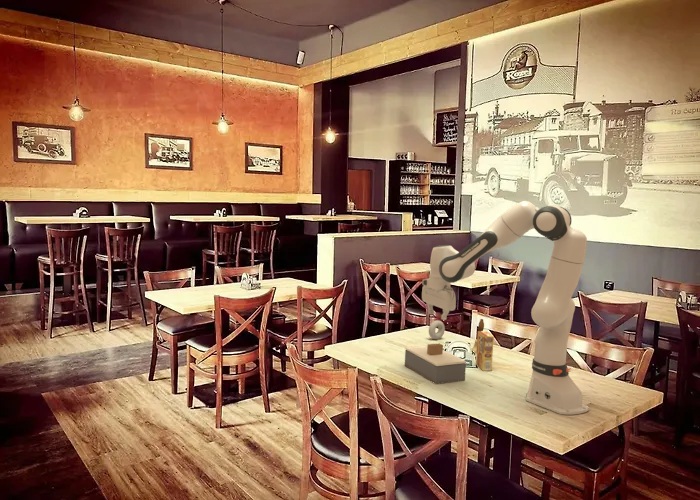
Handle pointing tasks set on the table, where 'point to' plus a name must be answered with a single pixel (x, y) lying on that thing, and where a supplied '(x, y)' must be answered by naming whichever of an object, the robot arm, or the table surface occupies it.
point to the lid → (435, 355)
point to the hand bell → (481, 327)
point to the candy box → (484, 350)
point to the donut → (440, 329)
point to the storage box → (435, 369)
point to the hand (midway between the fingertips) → (437, 316)
